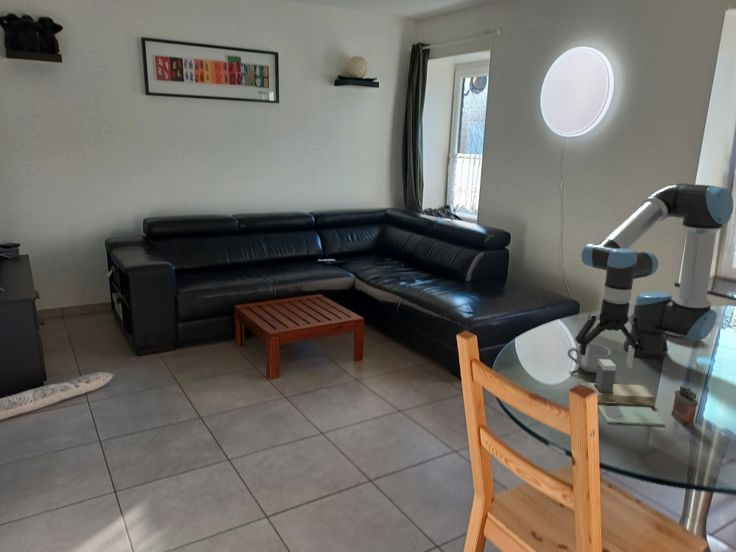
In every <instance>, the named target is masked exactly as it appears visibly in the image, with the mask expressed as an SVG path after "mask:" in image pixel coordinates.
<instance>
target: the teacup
mask: <svg viewBox="0 0 736 552" xmlns="http://www.w3.org/2000/svg"><path fill="white" fill-rule="evenodd" d="M588 346H589V353H588V360H587V366H584V365H583V364H582V363H581V362H582V355H581V354H580V347H581V344H578V345H577V348H576V347H570V348H568V350H567V356H568V357H569V359H570V360H571V361H573V362H574V363H575V364H576V365H578V367H580V368H581V370H582V371H584V372H587V373H592V374H597V367H598V360H599V359H608V360H610V356H611V350H610V349H609V348H608V347H607V346H604V345H602V344H598V343H595V342H594V343H593V342H590V343H589V344H588ZM572 352H576V353H575V354H576V357H573V355H572V354H571V353H572Z"/></svg>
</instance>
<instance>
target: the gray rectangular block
mask: <svg viewBox="0 0 736 552" xmlns="http://www.w3.org/2000/svg"><path fill="white" fill-rule="evenodd" d="M616 370H617V366H616V364H615V363H614V362H613V361H612V360H611V359H609V360H608V359H599V360H598V367H597V373H596V376H595V382H594V383H595V387H596V389H597V390H598V391H599V393H612V392H613V385H614V384H615V378H616Z"/></svg>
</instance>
